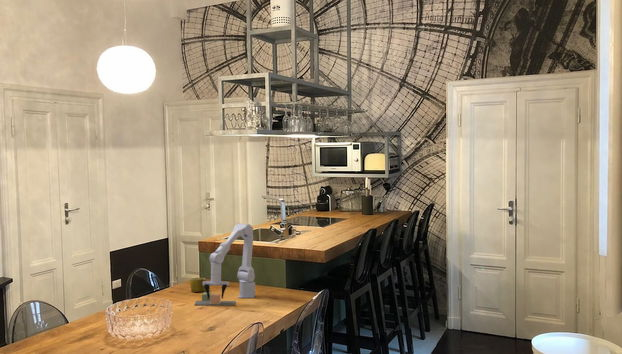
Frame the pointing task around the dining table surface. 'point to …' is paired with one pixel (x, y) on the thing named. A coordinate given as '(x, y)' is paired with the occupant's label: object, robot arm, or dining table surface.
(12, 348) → the dining table surface
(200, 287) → the mug
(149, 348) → the dining table surface
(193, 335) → the dining table surface
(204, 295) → the green brick
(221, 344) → the dining table surface
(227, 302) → the baseplate
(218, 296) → the terracotta brick
